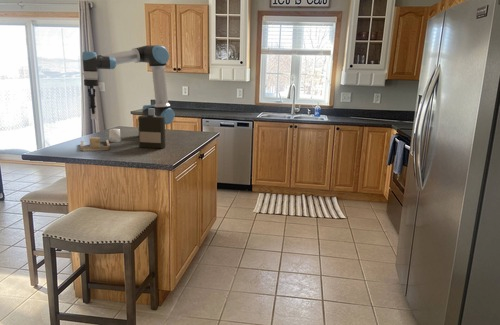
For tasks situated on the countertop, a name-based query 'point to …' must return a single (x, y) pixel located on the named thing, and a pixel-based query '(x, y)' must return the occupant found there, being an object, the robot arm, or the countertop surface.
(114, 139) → the white rounded capsule
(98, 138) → the oak block
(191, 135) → the countertop surface
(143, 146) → the bottle
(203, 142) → the countertop surface
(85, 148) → the wooden l-shaped bracket
